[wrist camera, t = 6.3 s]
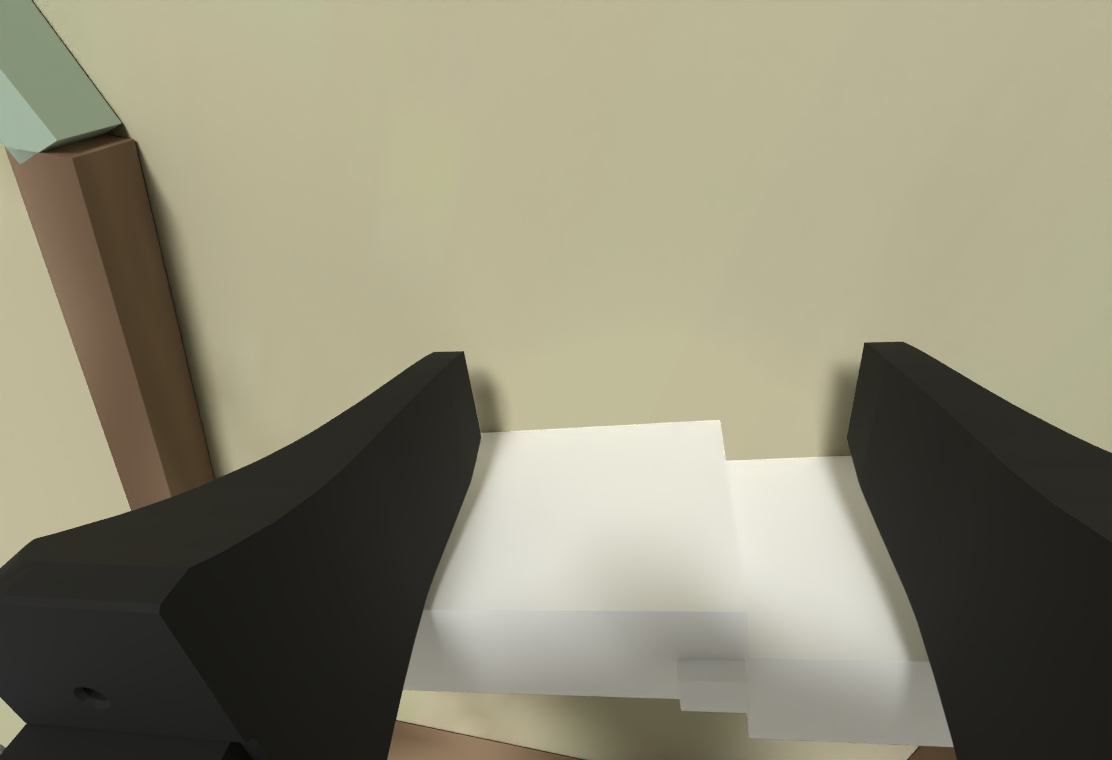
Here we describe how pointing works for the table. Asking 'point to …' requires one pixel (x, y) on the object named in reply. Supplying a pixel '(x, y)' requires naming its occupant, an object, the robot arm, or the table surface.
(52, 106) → the napkin dock
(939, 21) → the table surface
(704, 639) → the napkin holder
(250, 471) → the robot arm
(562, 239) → the table surface
